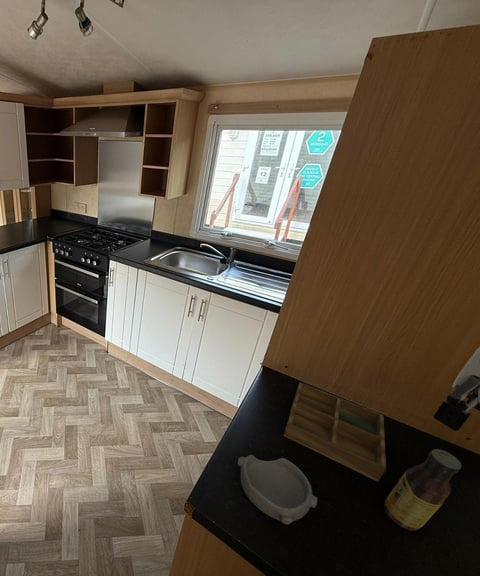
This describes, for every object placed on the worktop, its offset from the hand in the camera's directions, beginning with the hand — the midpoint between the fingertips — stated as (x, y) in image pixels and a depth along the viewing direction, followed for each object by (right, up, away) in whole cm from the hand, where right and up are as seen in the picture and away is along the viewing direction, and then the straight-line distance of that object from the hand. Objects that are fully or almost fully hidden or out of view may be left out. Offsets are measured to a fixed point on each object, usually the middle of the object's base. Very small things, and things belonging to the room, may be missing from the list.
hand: (461, 416), depth 55 cm
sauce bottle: (+1, -27, +12) cm, 30 cm away
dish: (-24, -25, +17) cm, 38 cm away
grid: (+1, -17, +32) cm, 36 cm away
